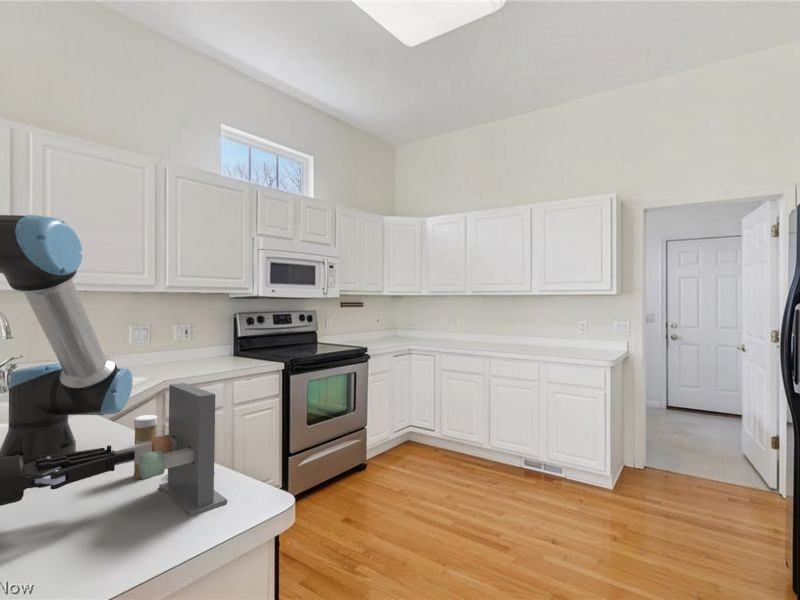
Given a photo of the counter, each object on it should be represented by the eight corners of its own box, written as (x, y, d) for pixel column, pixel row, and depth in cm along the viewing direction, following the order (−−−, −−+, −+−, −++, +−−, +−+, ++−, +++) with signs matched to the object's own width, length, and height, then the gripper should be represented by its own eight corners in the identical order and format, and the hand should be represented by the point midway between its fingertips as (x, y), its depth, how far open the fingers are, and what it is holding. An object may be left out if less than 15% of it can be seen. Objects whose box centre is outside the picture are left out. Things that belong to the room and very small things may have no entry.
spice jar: (139, 471, 100) (140, 414, 101) (159, 471, 101) (160, 414, 101) (129, 479, 96) (130, 419, 96) (150, 479, 96) (151, 419, 96)
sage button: (138, 475, 79) (139, 451, 79) (202, 459, 88) (202, 437, 88) (146, 482, 76) (146, 457, 76) (211, 464, 85) (212, 442, 85)
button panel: (159, 488, 92) (160, 385, 92) (193, 478, 97) (194, 381, 97) (190, 515, 80) (192, 398, 80) (227, 503, 85) (229, 392, 86)
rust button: (148, 456, 89) (148, 435, 89) (205, 444, 97) (205, 424, 97) (155, 462, 86) (156, 440, 86) (213, 448, 94) (214, 428, 94)
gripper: (-13, 494, 74) (140, 459, 91) (-8, 521, 65) (161, 477, 83) (-13, 450, 74) (141, 424, 92) (-7, 472, 65) (162, 438, 83)
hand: (150, 449), depth 87 cm, fingers closed
